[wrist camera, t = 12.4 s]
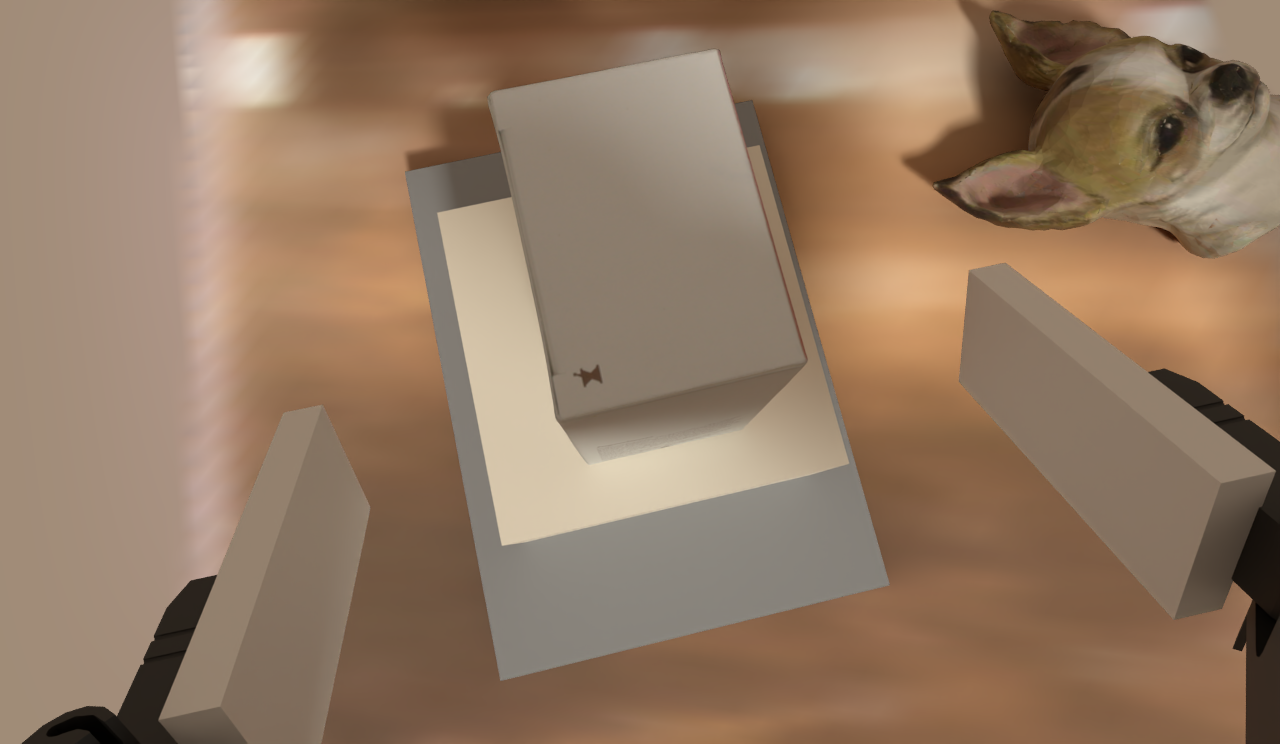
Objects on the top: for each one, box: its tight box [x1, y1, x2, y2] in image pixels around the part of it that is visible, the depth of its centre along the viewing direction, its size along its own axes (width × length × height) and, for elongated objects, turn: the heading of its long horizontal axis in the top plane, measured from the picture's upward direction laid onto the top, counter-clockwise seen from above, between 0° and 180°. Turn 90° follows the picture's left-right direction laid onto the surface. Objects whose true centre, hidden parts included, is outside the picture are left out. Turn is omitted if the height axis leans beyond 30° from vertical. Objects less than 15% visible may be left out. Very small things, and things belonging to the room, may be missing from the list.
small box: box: [487, 49, 808, 465], centre depth 22 cm, size 8×6×10 cm
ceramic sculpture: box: [933, 11, 1280, 258], centre depth 33 cm, size 11×9×15 cm
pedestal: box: [405, 100, 890, 681], centre depth 31 cm, size 16×22×8 cm
